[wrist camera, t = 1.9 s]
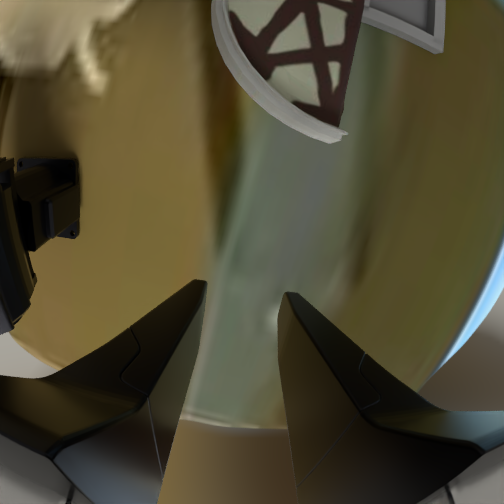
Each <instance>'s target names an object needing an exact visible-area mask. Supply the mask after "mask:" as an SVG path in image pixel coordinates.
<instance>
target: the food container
mask: <svg viewBox="0 0 504 504" xmlns="http://www.w3.org/2000/svg"><path fill="white" fill-rule="evenodd" d="M364 3H365V0H212V4H211V15H212V27H213V32H214V36H215V40H216V44H217V46H218V48H219V51H220V53H221V55H222V58H223V60H224V62H225V64H226V65H227V67H228V68H229V70H230V72H231V73H232V75H233V76H234V78H235V79H236V81H237V82H238V83H239V84H240V85H241V87H242V88H243V89H244V90H245V91H246V92H247V93H248V95H249V96H250V97H251V98H252V99H253V100H254V101H255V102H257V103H258V104H259V105H260V106H261V107H262V108H264V109H265V110H266V111H267V112H268V113H269V114H271V115H272V116H274V117H275V118H277V119H278V120H280V121H281V122H283V123H284V124H286V125H287V126H289V127H291V128H293V129H295V130H297V131H299V132H301V133H303V134H305V135H307V136H309V137H311V138H315V139H317V140H320V141H323V142H326V143H329V144H330V143H333V142H337V141H340V140H341V137H342V135H348V133H347V132H345V131H344V130H342V129H340V128H338V127H339V124H340V120H341V116H342V113H343V110H344V99H345V94H346V89H347V84H348V79H349V75H350V70H351V65H352V61H353V56H354V51H355V47H356V42H357V38H358V33H359V29H360V24H361V20H362V15H363V10H364Z"/></svg>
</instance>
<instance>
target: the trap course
mask: <svg viewBox="0 0 504 504" xmlns="http://www.w3.org/2000/svg"><path fill="white" fill-rule="evenodd" d="M361 22H363V23H366V24H368V25H371V26H374V27H376V28H379V29H381V30H384V31H386V32H389V33H391V34H394V35H396V36H398V37H400V38H403V39H405V40H407V41H409V42H411V43H414V44H416V45H418V46H420V47H422V48H424V49H426V50H428V51H430V52H432V53H433V54H438V53H443V46H444V32H445V0H365V3H364V10H363V15H362V20H361Z"/></svg>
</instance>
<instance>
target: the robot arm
mask: <svg viewBox="0 0 504 504" xmlns="http://www.w3.org/2000/svg"><path fill="white" fill-rule="evenodd" d="M22 163H23V166H22ZM71 163H72V164H73V168H72V167H71ZM14 166H15V164H14V158H11V159H6V157H3V158H0V335H1V334H3V333H6V332H9V331H11V330H13V329H14V325H15V324H16V323H17V322H18V321H19V320H20V319H21V317H22V316H23V315H24V313H25V312H26V311H27V310H28V309H29V307H30V305H31V303H30V300H29V299H30V298H31V296H32V293H33V291H34V287H35V285H36V283H37V277H36V274H35V273H34V272H33V268H32V265H31V261H30V257H29V252H30V251H33V252H34V251H36V250H37V249H38V248H40V247H41V246H42V245H43V244H45V243H46V242H47V241H48V240H50V239H51V238H52V239H53V238H55V237H56V236H58V237H64V238H70V239H75V238H76V237H78V236H79V217H80V204H79V186H78V162H77V160H76V159H73V158H26V157H24V158H20V159H19V160H18V162H17V173H14V169H13V167H14ZM72 230H73V231H74V232H75V234H73V233H72ZM206 293H207V281H204V280H197V279H194V280H192V281H191V282H189V283H188V284H187V285H185V286H184V287H183V288H181V289H180V290H179V291H177V292H176V293H175V294H173V295H172V296H170V297H169V298H168V299H166V300H165V301H164V302H162V303H161V304H160V305H158V306H157V307H156V308H154V309H153V310H151V311H150V312H149V313H147V314H146V315H145V316H143V317H142V318H141V319H139V320H138V321H137V322H135V323H134V324H133V325H131V326H130V327H129V328H127V329H126V330H124V331H123V332H122V333H120V334H119V335H118V336H116V337H115V338H113V339H112V340H110V341H109V342H108V343H106V344H104V345H103V346H101V347H99V348H98V349H96V350H94V351H93V352H91V353H89V354H88V355H86V356H84V357H82V358H81V359H79V360H77V361H75V362H74V363H72V364H70V365H68V366H67V367H65V368H63V369H61V370H60V371H58V372H56V373H54V374H52V375H49V376H46V377H43V378H35V379H31V378H20V377H11V376H3V375H0V504H157V501H158V497H159V493H160V490H161V486H162V482H163V478H164V474H165V470H166V466H167V462H168V459H169V455H170V451H171V447H172V443H173V440H174V436H175V433H176V429H177V425H178V422H179V418H180V415H181V411H182V407H183V404H184V400H185V397H186V393H187V390H188V386H189V383H190V379H191V376H192V372H193V369H194V365H195V362H196V358H197V354H198V350H199V344H200V337H201V331H202V324H203V317H204V311H205V303H206ZM278 363H279V371H280V378H281V385H282V392H283V398H284V405H285V412H286V419H287V426H288V433H289V440H290V448H291V455H292V462H293V469H294V476H295V483H296V488H297V489H296V492H297V500H298V504H504V411H479V412H478V411H469V412H467V411H465V412H463V411H448V410H444V409H441V408H439V407H437V406H434V405H433V404H431V403H430V402H428V401H427V400H426V399H424V398H423V397H422V396H420V395H419V394H417V393H416V392H415V391H413V390H412V389H411V388H409V387H408V386H406V385H405V384H404V383H402V382H401V381H400V380H398V379H397V378H396V377H394V376H393V375H392V374H390V373H389V372H388V371H387V370H385V369H384V368H383V367H382V366H381V365H379V364H378V363H377V362H376V361H375V360H374V359H372V358H371V357H370V356H369V355H368V354H365V352H364V351H363V350H362V349H361V348H360V347H359V346H358V345H356V344H355V343H354V342H353V341H352V340H351V339H350V338H348V337H347V336H346V335H345V334H344V333H343V332H342V331H341V330H339V329H338V328H337V327H336V326H335V325H334V324H333V323H331V322H330V321H329V320H328V319H327V318H326V317H325V316H324V315H322V314H321V313H320V312H319V311H318V310H317V309H316V308H314V307H313V306H312V305H311V304H310V303H309V302H308V301H306V300H305V299H304V298H303V297H302V296H301V295H300V294H298V293H295V292H285V293H284V295H283V298H282V302H281V305H280V309H279V313H278Z"/></svg>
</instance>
